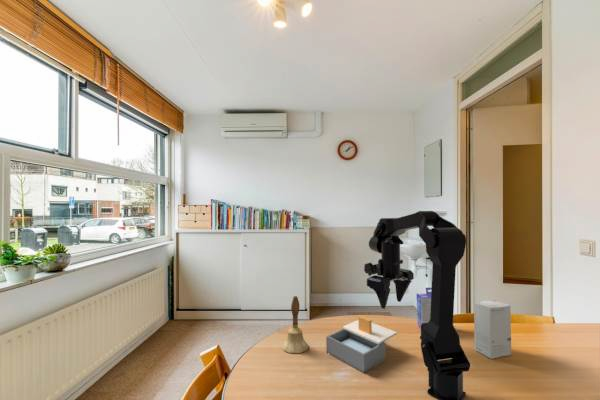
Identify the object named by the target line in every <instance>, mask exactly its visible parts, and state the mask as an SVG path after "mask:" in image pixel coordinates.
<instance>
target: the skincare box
mask: <svg viewBox="0 0 600 400" xmlns="http://www.w3.org/2000/svg"><path fill="white" fill-rule="evenodd" d="M511 314H512V313H511V305H510V304H507V303H503V302H501V301H497V300H494V299H493V300H482V301H474V302H473V317H474V318H473V322H474V323H473V325H474V328H473V329H474V330H473V331H474V339H473V340H474V350H475V351H476V352H478V353H480V354H482V355H483V356H485V357H487V358H488V359H491V360H493V359H496V358H500V357H507V356H512V329H511V327H512V326H511V325H512V324H511V323H512V322H511Z"/></svg>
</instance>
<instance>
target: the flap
mask: <svg viewBox="0 0 600 400" xmlns="http://www.w3.org/2000/svg"><path fill="white" fill-rule="evenodd" d="M372 321H373V320H372V319H371V318H368V317H365V316H362V315H360V316H358V319H357V320H355V321H352V322H349V323H348V324H346V325H344V326H343V325H342V328H341V330H342V329H344V330H347V331H349V332H351V333H353V334H356V335H358V336H360V337H363V338H365V339H367V340H369V341H372V342H374V343H376V344H378V345H379V344H381V343H382V342H386V341H388V340H390V339H391V338H393V337H394V336H396V335H398V332H397V331H395V330H393V329H389V328H387V327H384V326H382V325H379V324H376V323H374V322H372Z"/></svg>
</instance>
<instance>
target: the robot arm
mask: <svg viewBox="0 0 600 400" xmlns="http://www.w3.org/2000/svg"><path fill="white" fill-rule="evenodd" d="M429 227H432V228H429ZM412 229H418V236H419V238H420V239H421V241H423V242H424V244H425V252H426V255H427V256H428V258H429V259H430V262H432V271H431V272H432V274H431V288H432V290H431V291H430V292H431V313H430V321H429V322H428V323H422V324H421V331H420V336H419V340H420V341H421V342H420V348H421V353H422V357H423V358H422V359H423V363H424V366H425V367H426V368H427V372H428V387H429V388H428V389H427V390H426V391H427V392H426V393H427V394H429V395H430V396H432V397H434V398H436V399H438V400H464V398H465V397H466V395H467V393H466V391H464V378H463V377H464V374H463V373H464V372H469V371H470V369H471V362H470V361H469V359H468V357H467V355H466V353H465V351H464V349H463V348H462V346H461V339H460V335H459V333H458V331H457V330H456V327H455V326H454V311H455V310H454V309H455V308H454V307H455V291H456V274H457V273H456V269H457V265H458V264H459V263H460V262H461V260H462V258H463V257H464V256H465V251H466V250H465V249H466V245H467V238H466V234H465V233H464V232H463V231H462V230H461V229H460V228H458V227H457V226H456V224H454V223H453V222H451V221H449V220H447V219H445V218H443V217H442V216H441V215H439V214H438V213H437V212H436V211H434V210H419V211H416V212H415V213H411V214H407V215H404V216H400V217H385V218H383V217H381V218H380V219H379V220H378V222H377V225H376V227H375V229H374V231H373V235H372V236H371V238H370V239H369V240H368V247H369V249H370V250H371V251H372V252H375V253H378V254H380V255H381V258H379V259H378V260H377V261H378V262H377V263H375V264H373V263H372V262H367V263H365V264H364V267H363V270H364V272H365V274H368V276H369V277H368V278H367V279H366V286H367V287H369V288H370V289H372V290H373V291H374V292H375V294H376V296H377V299H378V303H379V305H380V308H381V309H384V310H385V309H386V306H387V304H388V299H389V296H390V293H391V288H390V287H391V282H393V283H394V287H395V294H396V295H395V297H396V301H397V302H399V303H401V302H402V299H403V297H404V296H405V294H406V292H407V290H408V288H409V286H410V284H411V283H412V280H415V277H414V276H415V275H414V272H413V271H412V270H410V269H405V268H401V264H404V259H401V245H403V244H404V241H403V240H402V239H401V238H400V236H402V235H403V234H405V233H406V232H407V231H409V230H412ZM376 274H377V275H376Z"/></svg>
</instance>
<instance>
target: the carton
mask: <svg viewBox="0 0 600 400" xmlns="http://www.w3.org/2000/svg"><path fill="white" fill-rule="evenodd" d="M325 342H326V343H325V345H326V354H328V353H329V354H328V355H330V356H332V357H334V358H335V359H337V360H339V361H341V362H342V363H344V364H346V365H348V366H350V367H352V368H353V369H356V370H357V371H359V372H360V373H363V374H366V373H367V372H368V371H371V370H372V369H374V368H375V367H376V366H378V365H379V364H381V363H383V362H384V361H386V341H384V342H382V343H381V344H379V345H378V344H376V343H374V342H372V341H369V340H367V339H365V338H363V337H360V336H358V335H356V334H353V333H351V332H349V331H347V330H344V329H342V328H341V329H340V330H338V331H335V332H333V333H331V334H328V335H326V340H325Z"/></svg>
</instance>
